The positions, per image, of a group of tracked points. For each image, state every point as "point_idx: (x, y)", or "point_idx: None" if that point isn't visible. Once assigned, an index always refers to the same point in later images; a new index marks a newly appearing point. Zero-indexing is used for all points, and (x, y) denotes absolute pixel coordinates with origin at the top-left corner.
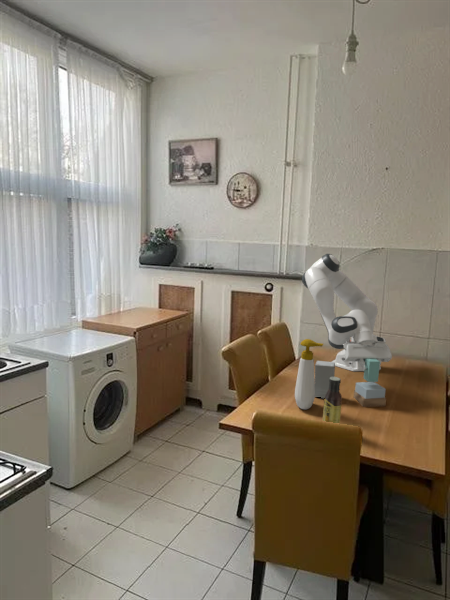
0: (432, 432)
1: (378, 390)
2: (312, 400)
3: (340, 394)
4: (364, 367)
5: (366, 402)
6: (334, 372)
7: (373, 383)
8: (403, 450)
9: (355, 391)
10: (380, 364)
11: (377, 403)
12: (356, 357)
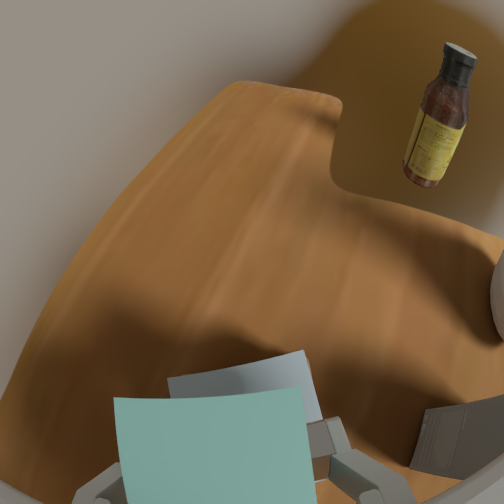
0: (146, 182)
1: (217, 371)
2: (501, 258)
3: (432, 83)
4: (341, 423)
5: None
6: (493, 454)
7: None
8: (265, 110)
9: None
10: (110, 466)
11: None
12: (486, 471)
